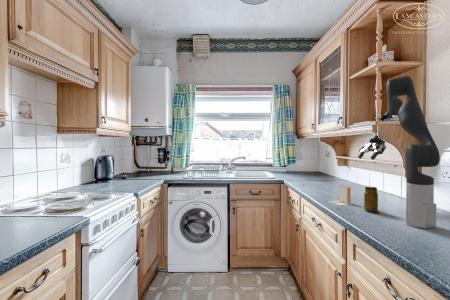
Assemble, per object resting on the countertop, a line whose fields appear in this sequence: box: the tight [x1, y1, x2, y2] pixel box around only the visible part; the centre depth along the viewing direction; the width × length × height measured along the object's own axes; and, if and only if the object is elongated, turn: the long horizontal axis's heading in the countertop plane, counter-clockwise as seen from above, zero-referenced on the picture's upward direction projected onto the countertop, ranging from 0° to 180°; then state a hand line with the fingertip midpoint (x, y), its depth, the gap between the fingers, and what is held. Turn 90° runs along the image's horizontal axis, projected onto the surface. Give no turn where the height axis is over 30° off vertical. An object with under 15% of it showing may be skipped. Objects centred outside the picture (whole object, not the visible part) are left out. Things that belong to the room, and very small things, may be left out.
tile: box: [338, 185, 352, 205], centre depth 155 cm, size 7×2×9 cm, turn 19°
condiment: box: [363, 186, 385, 215], centre depth 136 cm, size 7×8×12 cm
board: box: [329, 200, 353, 206], centre depth 155 cm, size 9×9×1 cm
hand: (365, 158), depth 155 cm, fingers open, 8 cm apart
